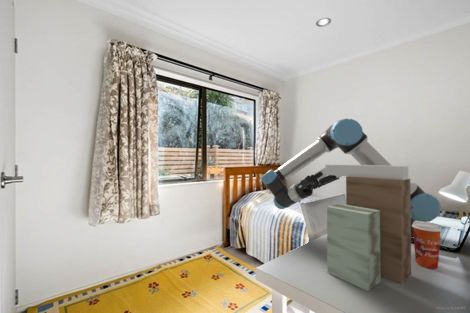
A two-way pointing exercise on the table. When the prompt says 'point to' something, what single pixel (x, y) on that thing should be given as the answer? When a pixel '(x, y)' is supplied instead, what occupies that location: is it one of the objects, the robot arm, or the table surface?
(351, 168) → the white block
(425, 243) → the paper cup
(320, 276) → the table surface
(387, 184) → the wooden boards
